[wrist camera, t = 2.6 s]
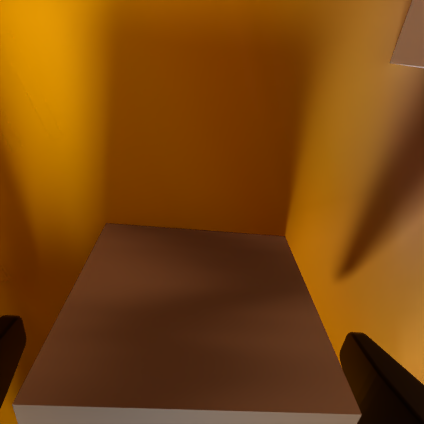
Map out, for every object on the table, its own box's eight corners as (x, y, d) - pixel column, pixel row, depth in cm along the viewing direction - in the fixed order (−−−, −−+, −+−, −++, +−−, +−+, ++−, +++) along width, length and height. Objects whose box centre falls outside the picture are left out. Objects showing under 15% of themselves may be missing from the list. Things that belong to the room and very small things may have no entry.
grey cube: (284, 234, 9) (362, 414, 5) (254, 351, 11) (288, 544, 7) (107, 221, 9) (12, 404, 4) (114, 345, 11) (57, 545, 7)
